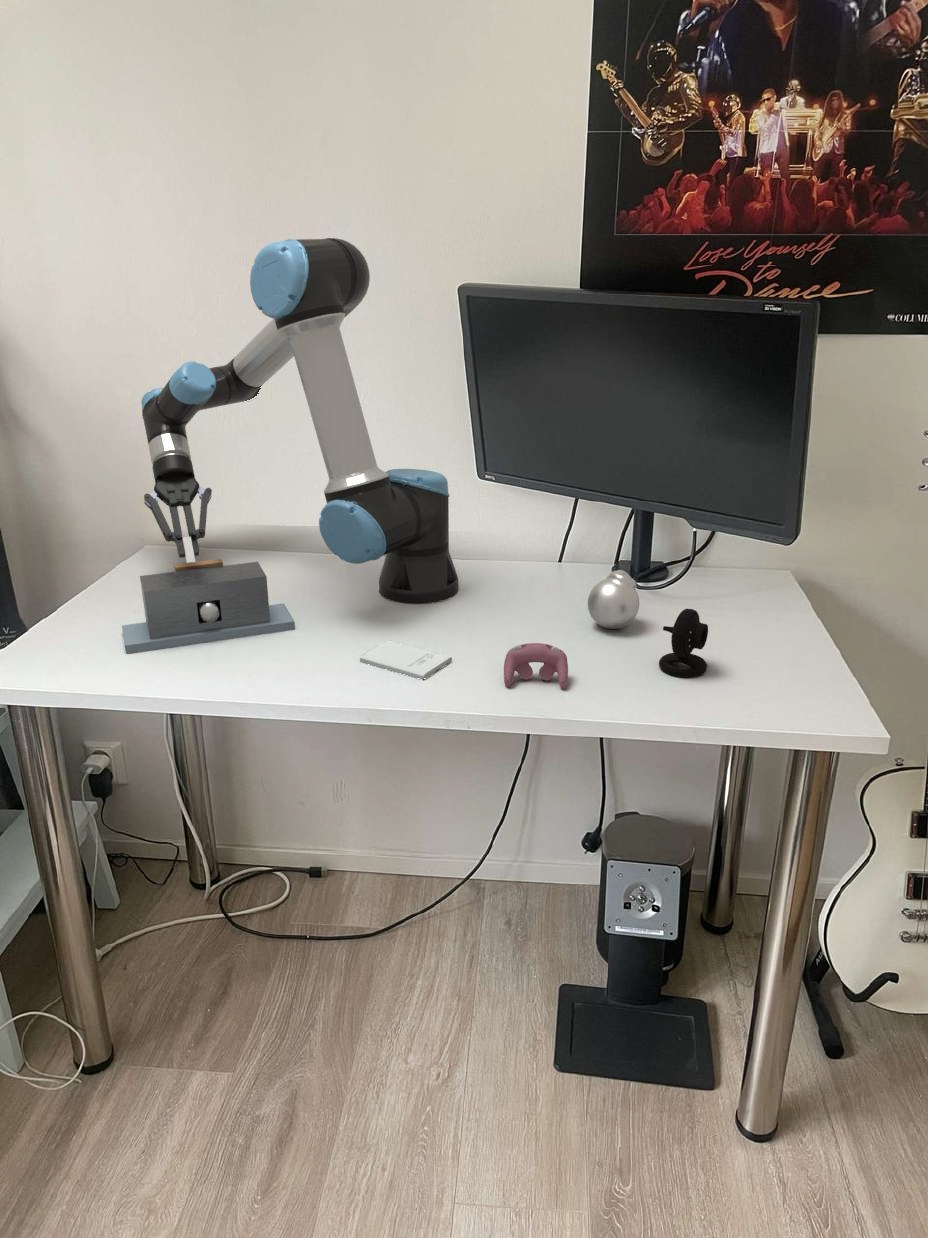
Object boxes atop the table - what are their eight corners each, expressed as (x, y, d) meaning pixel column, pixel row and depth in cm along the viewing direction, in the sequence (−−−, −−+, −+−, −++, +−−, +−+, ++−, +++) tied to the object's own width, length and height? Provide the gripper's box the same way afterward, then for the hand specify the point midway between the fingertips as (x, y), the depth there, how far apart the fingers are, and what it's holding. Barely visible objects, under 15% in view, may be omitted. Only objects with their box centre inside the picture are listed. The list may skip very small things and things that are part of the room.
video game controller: (567, 689, 157) (568, 644, 157) (567, 689, 152) (569, 643, 153) (503, 687, 158) (505, 642, 158) (502, 687, 153) (504, 641, 154)
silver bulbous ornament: (650, 631, 174) (654, 577, 170) (602, 640, 170) (605, 585, 166) (623, 613, 181) (626, 560, 178) (577, 621, 178) (579, 567, 174)
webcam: (696, 683, 155) (702, 623, 151) (651, 672, 159) (655, 613, 155) (713, 664, 161) (719, 606, 157) (669, 654, 165) (674, 597, 161)
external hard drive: (390, 648, 169) (452, 664, 163) (360, 665, 163) (423, 683, 157) (390, 639, 169) (452, 655, 162) (359, 656, 162) (423, 674, 156)
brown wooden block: (226, 611, 182) (220, 558, 178) (236, 635, 172) (231, 579, 168) (180, 617, 179) (174, 564, 175) (188, 642, 169) (181, 586, 165)
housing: (284, 610, 183) (280, 558, 179) (295, 629, 175) (291, 575, 171) (123, 633, 174) (115, 578, 170) (126, 653, 166) (118, 597, 162)
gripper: (205, 470, 202) (226, 575, 194) (137, 476, 198) (156, 583, 190) (206, 449, 196) (228, 557, 188) (136, 455, 191) (156, 566, 183)
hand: (192, 570), depth 189 cm, fingers closed
